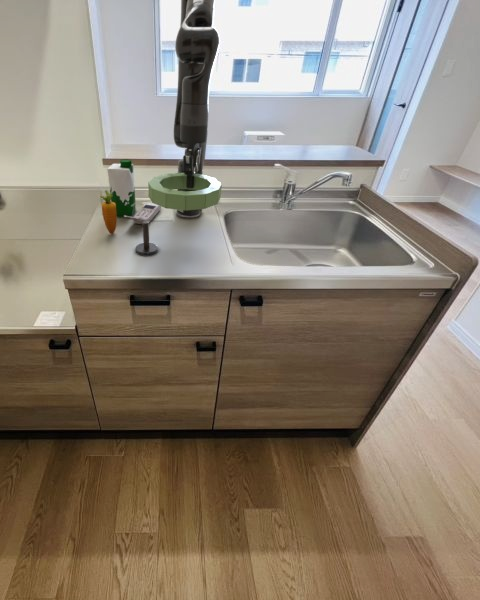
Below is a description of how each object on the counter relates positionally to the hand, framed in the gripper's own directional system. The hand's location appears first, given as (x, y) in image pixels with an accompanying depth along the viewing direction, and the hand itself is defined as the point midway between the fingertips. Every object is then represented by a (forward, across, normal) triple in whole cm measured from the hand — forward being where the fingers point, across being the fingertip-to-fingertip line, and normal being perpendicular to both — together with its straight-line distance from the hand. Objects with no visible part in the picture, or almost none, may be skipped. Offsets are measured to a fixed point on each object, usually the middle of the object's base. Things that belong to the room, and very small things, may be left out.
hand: (191, 185), depth 97 cm
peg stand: (+18, -12, +11) cm, 24 cm away
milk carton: (+18, +15, +30) cm, 38 cm away
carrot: (+18, -4, +27) cm, 33 cm away
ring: (+1, -8, 0) cm, 9 cm away
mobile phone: (+18, +12, +20) cm, 30 cm away
